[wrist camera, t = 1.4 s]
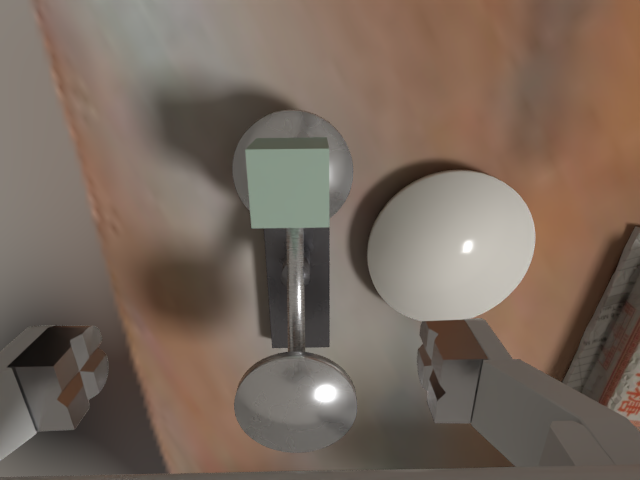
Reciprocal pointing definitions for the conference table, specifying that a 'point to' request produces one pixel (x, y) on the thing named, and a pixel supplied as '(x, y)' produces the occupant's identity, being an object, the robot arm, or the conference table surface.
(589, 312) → the conference table surface
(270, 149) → the block
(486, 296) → the dish
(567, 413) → the robot arm
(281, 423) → the balance
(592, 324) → the packaged product
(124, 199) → the conference table surface
